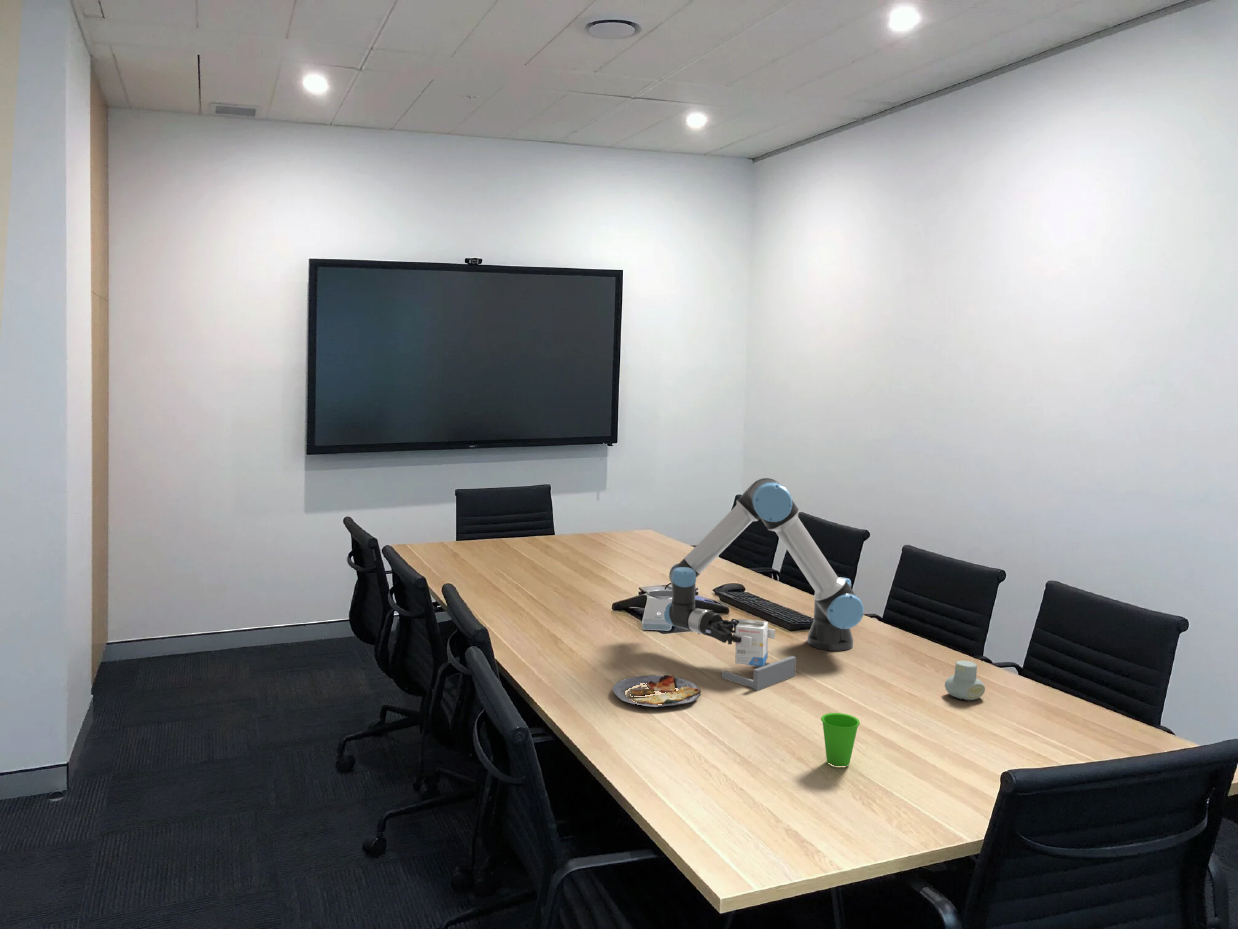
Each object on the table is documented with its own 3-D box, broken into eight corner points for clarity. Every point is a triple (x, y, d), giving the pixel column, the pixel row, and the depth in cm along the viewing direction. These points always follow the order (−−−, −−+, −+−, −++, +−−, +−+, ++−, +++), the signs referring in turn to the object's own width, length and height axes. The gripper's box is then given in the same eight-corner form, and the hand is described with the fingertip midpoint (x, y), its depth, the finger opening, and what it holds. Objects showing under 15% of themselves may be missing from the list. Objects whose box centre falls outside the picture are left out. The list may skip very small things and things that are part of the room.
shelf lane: (795, 676, 290) (796, 657, 290) (757, 691, 277) (758, 671, 276) (757, 665, 300) (758, 646, 299) (719, 678, 287) (720, 659, 286)
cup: (814, 756, 233) (816, 713, 231) (850, 755, 234) (852, 712, 232) (825, 772, 224) (827, 727, 223) (862, 772, 225) (865, 727, 223)
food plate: (679, 677, 287) (680, 666, 286) (715, 706, 265) (715, 693, 265) (601, 688, 278) (601, 676, 277) (631, 718, 256) (631, 706, 256)
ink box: (768, 658, 292) (769, 615, 291) (763, 667, 284) (764, 623, 283) (740, 655, 295) (741, 613, 294) (734, 663, 287) (735, 620, 286)
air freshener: (961, 704, 270) (963, 670, 269) (939, 695, 277) (941, 661, 276) (988, 699, 275) (991, 665, 274) (966, 689, 282) (968, 656, 281)
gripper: (729, 627, 310) (785, 642, 295) (681, 642, 294) (738, 658, 278) (729, 604, 309) (786, 618, 294) (682, 618, 293) (739, 633, 277)
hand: (762, 638), depth 286 cm, fingers closed on ink box, 11 cm apart
